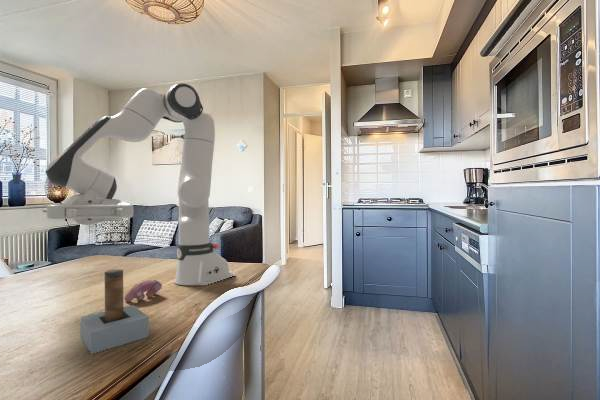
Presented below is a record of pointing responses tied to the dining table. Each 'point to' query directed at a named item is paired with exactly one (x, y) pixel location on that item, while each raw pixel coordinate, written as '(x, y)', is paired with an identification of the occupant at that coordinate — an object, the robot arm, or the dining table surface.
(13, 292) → the dining table surface
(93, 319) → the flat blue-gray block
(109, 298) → the walnut dowel
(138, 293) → the video game controller
